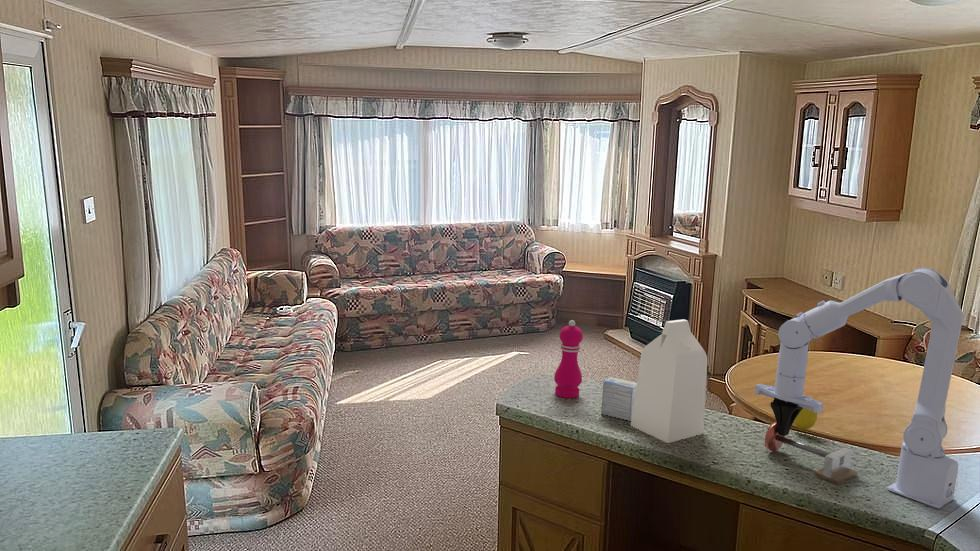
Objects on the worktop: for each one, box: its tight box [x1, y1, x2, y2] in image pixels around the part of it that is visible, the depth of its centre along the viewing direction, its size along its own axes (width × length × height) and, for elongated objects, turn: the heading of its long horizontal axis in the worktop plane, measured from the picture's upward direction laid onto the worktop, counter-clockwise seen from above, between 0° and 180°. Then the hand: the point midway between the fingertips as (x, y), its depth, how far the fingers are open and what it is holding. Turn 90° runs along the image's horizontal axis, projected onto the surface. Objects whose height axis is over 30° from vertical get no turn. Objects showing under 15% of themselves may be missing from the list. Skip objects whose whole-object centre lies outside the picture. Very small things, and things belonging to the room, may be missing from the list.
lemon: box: [793, 408, 818, 432], centre depth 172 cm, size 6×6×8 cm
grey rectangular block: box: [600, 376, 637, 422], centre depth 176 cm, size 8×4×9 cm, turn 58°
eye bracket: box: [813, 446, 859, 486], centre depth 148 cm, size 5×8×5 cm, turn 128°
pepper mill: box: [553, 319, 584, 399], centre depth 189 cm, size 7×7×20 cm
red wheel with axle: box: [764, 421, 831, 459], centre depth 155 cm, size 14×6×6 cm, turn 39°
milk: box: [630, 318, 708, 444], centre depth 167 cm, size 12×12×26 cm
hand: (783, 434), depth 157 cm, fingers closed
